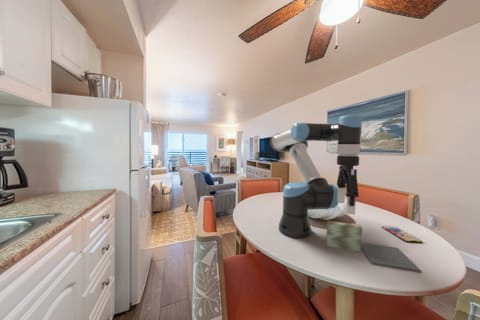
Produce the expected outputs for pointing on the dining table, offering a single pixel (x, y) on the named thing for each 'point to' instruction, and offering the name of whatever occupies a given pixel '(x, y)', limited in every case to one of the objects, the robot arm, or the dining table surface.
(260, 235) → the dining table surface
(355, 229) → the tile
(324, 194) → the robot arm
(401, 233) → the smartphone
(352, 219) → the dining table surface
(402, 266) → the mat
